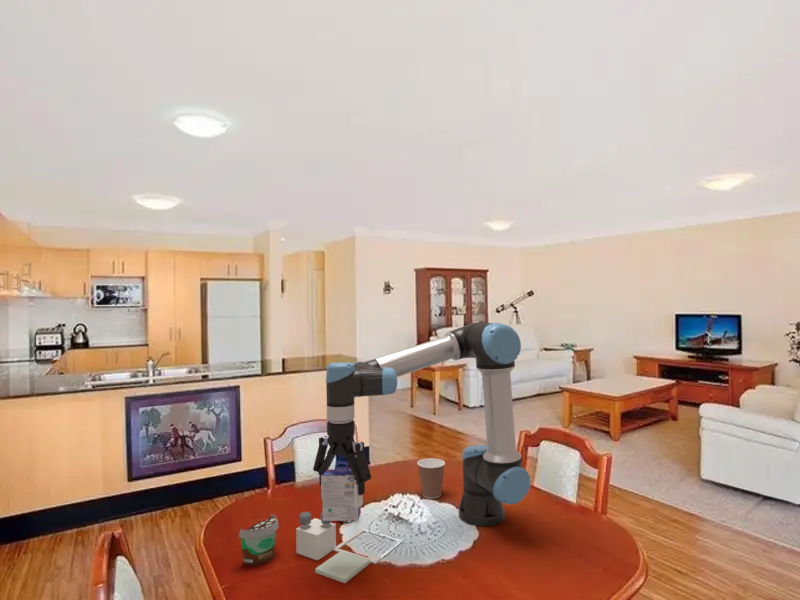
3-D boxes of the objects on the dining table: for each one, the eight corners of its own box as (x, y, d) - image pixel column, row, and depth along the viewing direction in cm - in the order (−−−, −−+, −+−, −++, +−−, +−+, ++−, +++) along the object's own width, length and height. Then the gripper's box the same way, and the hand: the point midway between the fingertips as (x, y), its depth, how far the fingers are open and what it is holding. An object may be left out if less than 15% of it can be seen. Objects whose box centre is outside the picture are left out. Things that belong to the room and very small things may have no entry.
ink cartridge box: (361, 512, 135) (360, 459, 135) (359, 521, 129) (358, 466, 129) (325, 512, 135) (324, 460, 135) (322, 521, 129) (321, 466, 130)
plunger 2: (334, 532, 142) (334, 512, 142) (327, 536, 140) (327, 516, 140) (326, 529, 144) (325, 509, 144) (318, 534, 141) (318, 514, 141)
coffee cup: (450, 493, 183) (449, 460, 183) (437, 502, 175) (436, 468, 175) (426, 487, 189) (425, 456, 189) (412, 496, 180) (412, 464, 180)
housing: (403, 541, 146) (403, 517, 147) (361, 575, 128) (360, 548, 128) (343, 524, 159) (342, 502, 159) (296, 553, 140) (296, 528, 140)
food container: (254, 572, 130) (254, 535, 130) (239, 566, 134) (238, 529, 134) (288, 552, 141) (287, 517, 141) (273, 547, 144) (272, 513, 144)
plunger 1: (313, 533, 142) (313, 513, 142) (306, 538, 139) (305, 517, 139) (305, 530, 144) (305, 511, 144) (297, 535, 141) (297, 515, 141)
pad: (369, 563, 134) (369, 559, 134) (344, 583, 125) (344, 579, 125) (341, 554, 139) (341, 550, 139) (315, 572, 130) (315, 568, 130)
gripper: (384, 422, 130) (385, 505, 129) (317, 413, 142) (318, 489, 141) (367, 428, 123) (368, 516, 123) (299, 418, 135) (300, 498, 135)
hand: (341, 502), depth 132 cm, fingers closed on ink cartridge box, 11 cm apart
